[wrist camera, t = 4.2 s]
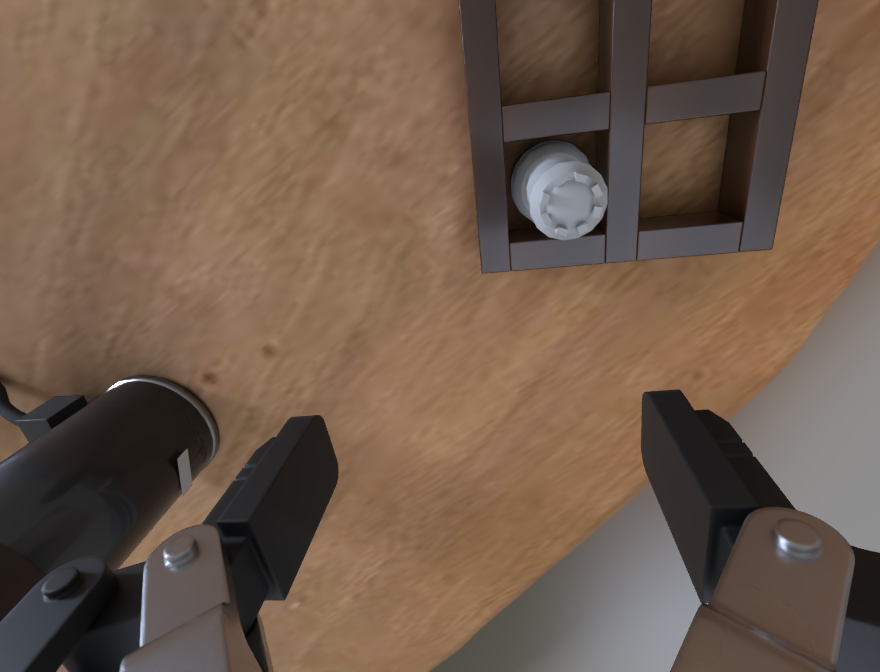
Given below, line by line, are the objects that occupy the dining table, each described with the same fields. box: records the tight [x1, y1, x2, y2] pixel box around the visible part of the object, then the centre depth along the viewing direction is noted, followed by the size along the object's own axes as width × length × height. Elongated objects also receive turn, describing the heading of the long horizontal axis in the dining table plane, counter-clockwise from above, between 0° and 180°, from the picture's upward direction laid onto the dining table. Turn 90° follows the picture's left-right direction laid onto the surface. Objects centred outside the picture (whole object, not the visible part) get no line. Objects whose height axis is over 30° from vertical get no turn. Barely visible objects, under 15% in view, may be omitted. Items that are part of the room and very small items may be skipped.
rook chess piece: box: [510, 140, 608, 240], centre depth 22 cm, size 4×4×8 cm
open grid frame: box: [459, 0, 819, 273], centre depth 21 cm, size 15×21×3 cm
